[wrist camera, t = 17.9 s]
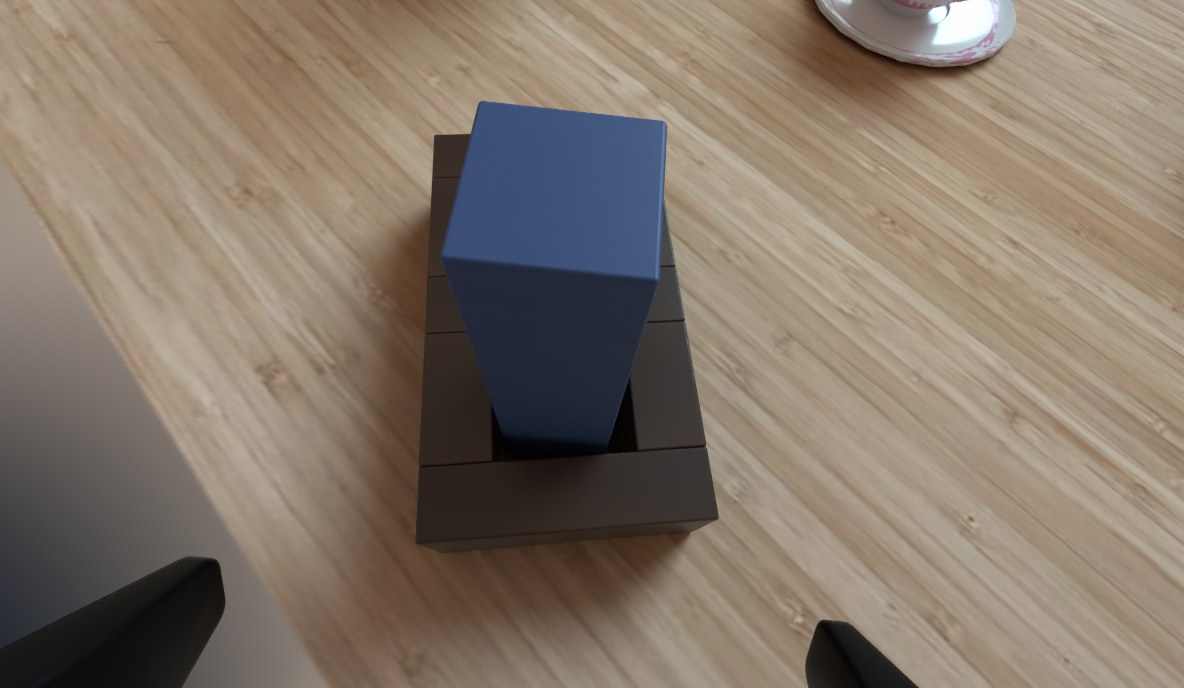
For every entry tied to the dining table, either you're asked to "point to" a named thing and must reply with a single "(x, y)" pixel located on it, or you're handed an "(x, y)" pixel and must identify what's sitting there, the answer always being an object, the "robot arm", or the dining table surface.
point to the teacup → (925, 28)
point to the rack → (560, 484)
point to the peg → (556, 266)
